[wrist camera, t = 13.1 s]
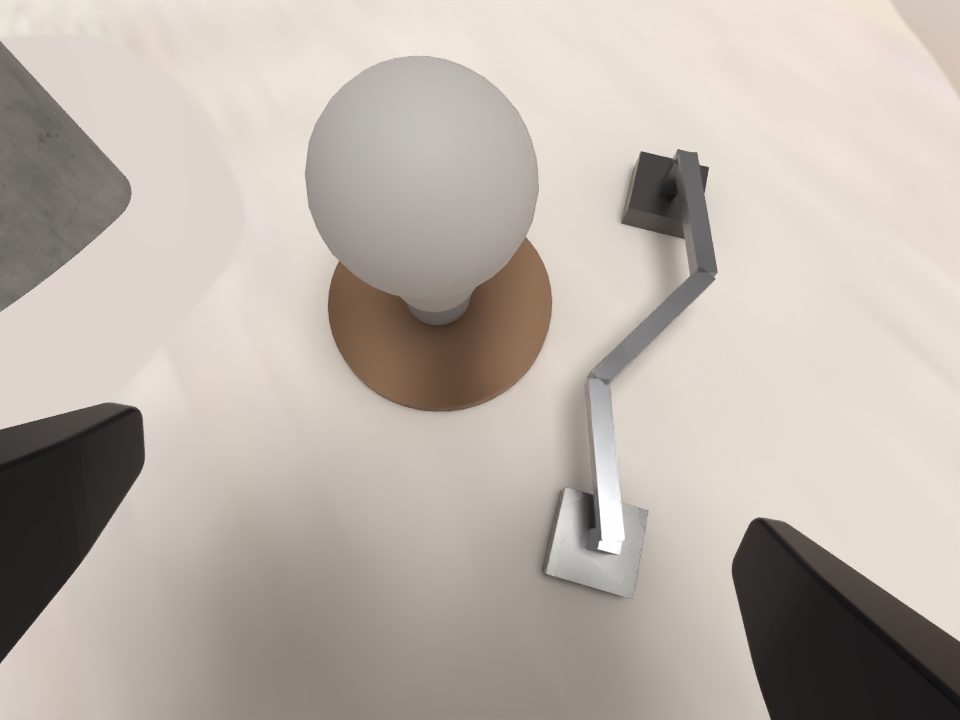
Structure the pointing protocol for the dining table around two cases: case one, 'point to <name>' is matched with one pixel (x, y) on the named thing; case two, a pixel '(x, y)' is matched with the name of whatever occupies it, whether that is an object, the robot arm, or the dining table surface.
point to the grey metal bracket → (602, 517)
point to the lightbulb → (422, 182)
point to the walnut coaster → (444, 337)
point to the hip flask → (47, 184)
